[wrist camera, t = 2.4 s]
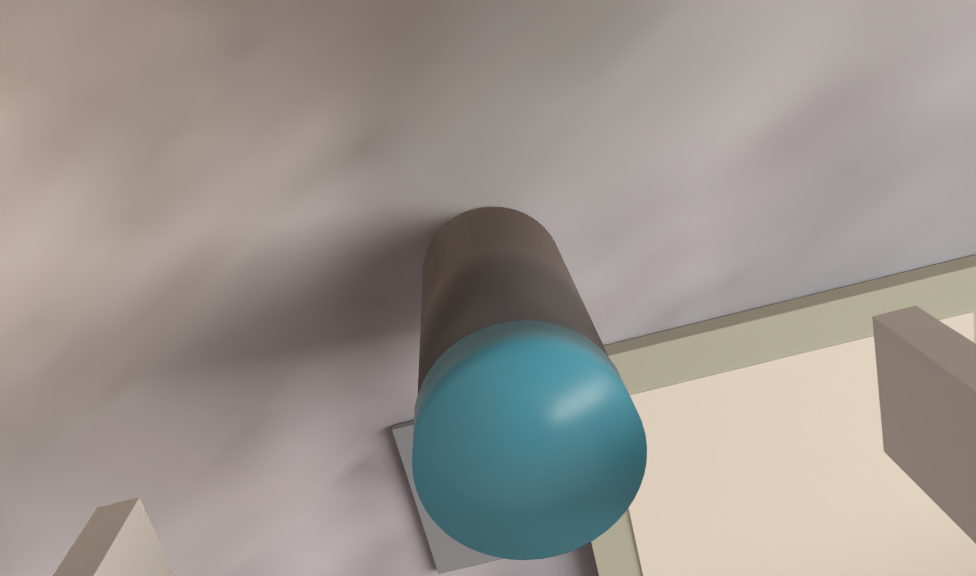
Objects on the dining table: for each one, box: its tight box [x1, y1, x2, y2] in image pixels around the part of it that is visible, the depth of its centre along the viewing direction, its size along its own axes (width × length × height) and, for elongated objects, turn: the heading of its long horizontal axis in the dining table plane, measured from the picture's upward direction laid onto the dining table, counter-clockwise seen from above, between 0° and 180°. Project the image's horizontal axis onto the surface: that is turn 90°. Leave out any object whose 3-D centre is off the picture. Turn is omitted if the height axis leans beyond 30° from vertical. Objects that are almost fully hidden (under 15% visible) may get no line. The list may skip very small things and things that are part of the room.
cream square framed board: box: [591, 255, 976, 576], centre depth 29 cm, size 16×15×1 cm
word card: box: [392, 420, 504, 574], centre depth 28 cm, size 6×4×1 cm, turn 14°
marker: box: [412, 207, 647, 560], centre depth 20 cm, size 4×4×12 cm
